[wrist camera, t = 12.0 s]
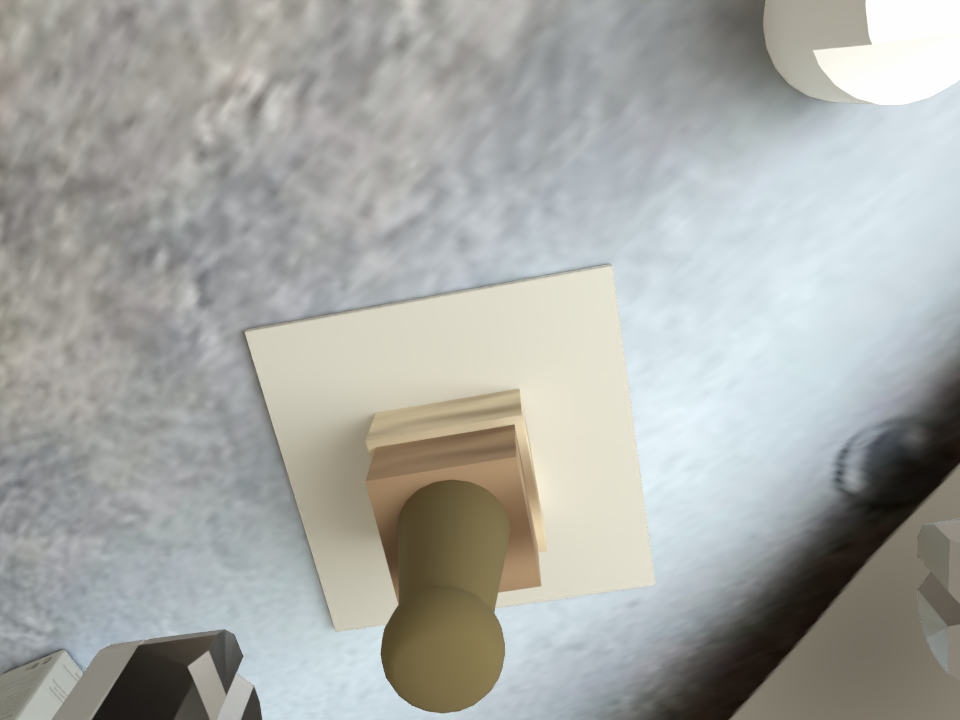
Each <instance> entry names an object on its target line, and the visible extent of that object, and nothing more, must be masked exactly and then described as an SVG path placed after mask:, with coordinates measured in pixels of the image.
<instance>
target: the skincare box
mask: <svg viewBox="0 0 960 720" xmlns="http://www.w3.org/2000/svg"><path fill="white" fill-rule="evenodd" d="M82 675H83V672H82V670H81V669H80V668H79V667H78V666H77V664H76V663H75V662H74V661H73V660H72V658H71V657H70V656H69V654H68V653H67V652H66V651H65V650H61V651H58V652H55V653H53V654H51V655H49V656H46V657H44V658H41V659H38V660H36V661H33V662H30V663H28V664H25V665H22V666H20V667H17V668H15V669H12V670H10V671H7V672H5V673H4V674H3V675H1V676H0V720H51V719H52V718H53V716H54V715H55V714H56V712H57V711H58V709H59V708H60V706H61V705H62V704H63V702H64V701H65V699H66V698H67V696H68V695H69V693H70V692H71V691H72V689H73V688H74V686H75V685H76V683H77V682H78V681H79V679H80V678H81V676H82Z"/></svg>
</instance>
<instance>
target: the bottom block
mask: <svg viewBox="0 0 960 720" xmlns="http://www.w3.org/2000/svg"><path fill="white" fill-rule="evenodd" d="M508 425H515V429H516V435H517V440H518V445H519V450H520V456H521V461H522V466H523V471H524V477H525V482H526V487H527V492H528V497H529V503H530V508H531V513H532V518H533V524H534V529H535V534H536V539H537V544H538V552H545V551H547V544H546V535H545V526H544V517H543V511H542V506H541V501H540V495H539V490H538V485H537V479H536V474H535V468H534V463H533V458H532V452H531V447H530V442H529V436H528V431H527V425H526V420H525V415H524V409H523V404H522V398H521V393H520V388H519V389H514V390H508V391H502V392H496V393H490V394H484V395H478V396H472V397H466V398H460V399H455V400H449V401H443V402H437V403H431V404H425V405H419V406H413V407H407V408H401V409H395V410H390V411H384V412H378V413H375V416H374V419H373V422H372V425H371V427H370V430H369V433H368V436H367V438H366V444H367V448H368V452H369V456H370V460H371V462H372V459H373V456H374V453H375V449H376V447H382V446H388V445H394V444H400V443H406V442H412V441H418V440H424V439H430V438H436V437H442V436H448V435H454V434H460V433H466V432H472V431H478V430H484V429H490V428H496V427H502V426H508Z"/></svg>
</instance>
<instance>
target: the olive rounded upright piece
mask: <svg viewBox="0 0 960 720" xmlns="http://www.w3.org/2000/svg"><path fill="white" fill-rule="evenodd" d="M510 530H511V529H510V524H509V518H508V514H507V512H506V510H505V509H504V507H503V505H502V504H501V502H500V500H499V499H497V498H496V497H495V496H494V495H493V494H492V493H491V492H489V491H488V490H487V489H485V488H483V487H481V486H479V485H476V484H474V483H472V482H468V481H460V480H453V479H452V480H445V481H438V482H433V483H431V484H429V485H427V486H425V487H423V488H421V489H419V490H418V491H416V492H415V493H414V494H413V495H412V496H411V497H410V498H409V499H408V500H407V501H406V503H405V505H404V507H403V508H402V510H401V512H400V514H399V520H398V529H397V539H398V588H399V605H398V606H397V608H396V609H395V611H394V612H393V614H392V616H391V617H390V619H389V621H388V623H387V625H386V627H385V629H384V633H383V638H382V646H381V659H382V664H383V668H384V672H385V676H386V678H387V680H388V681H389V682H390V684H391V685H392V687H393V688H394V690H395V691H396V692H397V694H398V695H399V696H400V697H401V698H403V699H404V700H405V701H407V702H408V703H409V704H411V705H412V706H415V707H417V708H420V709H422V710H425V711H429V712H437V713H449V712H457V711H461V710H463V709H466V708H468V707H471V706H473V705H475V704H476V703H477V702H478V701H480V700H481V699H482V698H483V697H485V696H486V695H487V694H488V693H489V692H490V691H491V690H492V688H493V686H494V685H495V683H496V682H497V680H498V678H499V676H500V673H501V671H502V667H503V661H504V656H505V643H504V638H503V633H502V628H501V626H500V623H499V621H498V619H497V617H496V616H495V614H494V611H495V606H496V601H497V596H498V591H499V586H500V581H501V576H502V571H503V566H504V562H505V557H506V552H507V547H508V541H509V536H510Z"/></svg>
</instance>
